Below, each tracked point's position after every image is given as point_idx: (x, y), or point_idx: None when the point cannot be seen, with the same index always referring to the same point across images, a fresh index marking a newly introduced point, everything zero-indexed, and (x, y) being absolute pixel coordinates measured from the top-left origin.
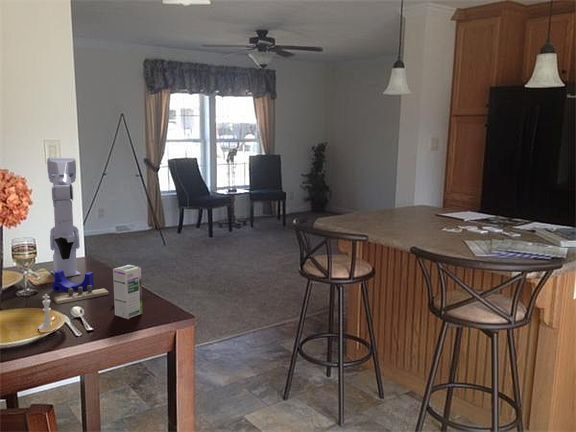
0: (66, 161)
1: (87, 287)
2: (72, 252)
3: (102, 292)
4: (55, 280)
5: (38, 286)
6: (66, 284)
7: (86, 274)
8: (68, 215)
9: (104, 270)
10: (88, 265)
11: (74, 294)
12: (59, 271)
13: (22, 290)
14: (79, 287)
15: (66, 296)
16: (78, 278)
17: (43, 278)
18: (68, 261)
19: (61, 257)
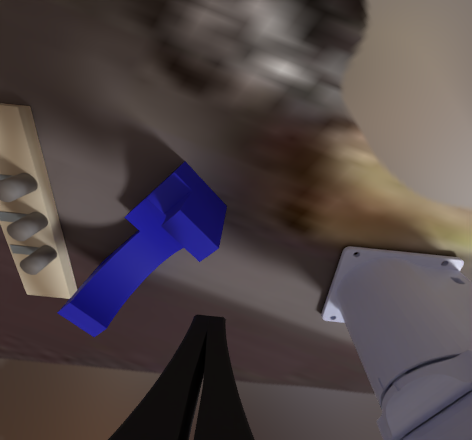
0: None
1: (30, 256)
2: (379, 403)
3: (22, 277)
4: (189, 193)
5: (294, 131)
6: (158, 220)
7: (65, 306)
8: None
9: (311, 375)
10: None
11: (32, 197)
12: (189, 239)
13: (285, 28)
14: (18, 230)
15: (11, 159)
16: (285, 294)
17: (402, 199)
18: (362, 338)
19: (218, 324)
